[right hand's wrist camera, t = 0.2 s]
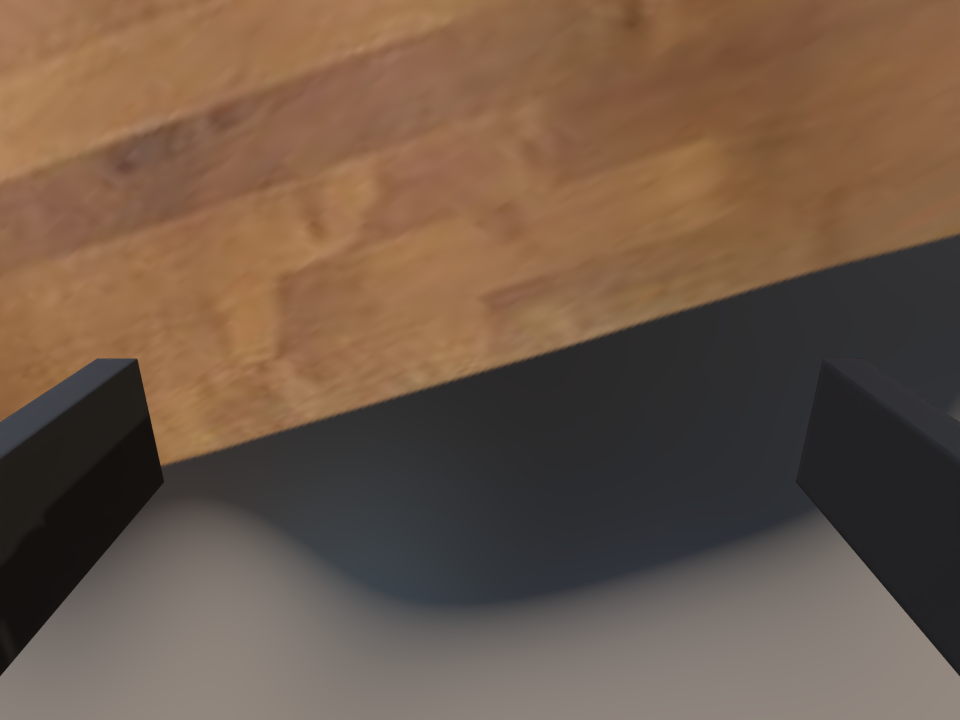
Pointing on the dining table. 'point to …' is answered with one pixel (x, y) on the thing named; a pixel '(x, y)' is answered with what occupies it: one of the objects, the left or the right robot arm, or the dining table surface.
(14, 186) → the dining table surface
